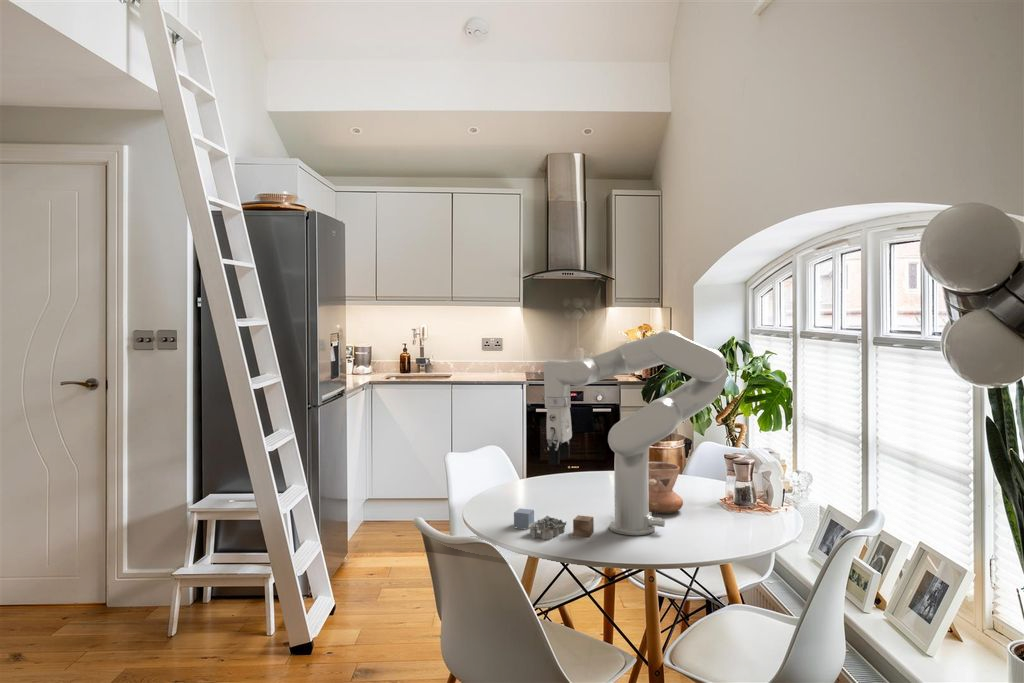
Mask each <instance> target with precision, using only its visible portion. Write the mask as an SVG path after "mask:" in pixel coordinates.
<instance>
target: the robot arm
mask: <svg viewBox="0 0 1024 683" xmlns="http://www.w3.org/2000/svg"><path fill="white" fill-rule="evenodd" d="M664 364H665V365H666V366H669V367H670V368H672V369H675V370H676V371H679V372H681V373H683V374H685V375H688V376H690V377H691V378H690V379H688V381H686V382H685V383H683V384H682V385H680V386H678V387H677V388H675V389H673V390H672V391H671V392H668V393H667V394H665V395H663V396H661V397H659V398H657V399H656V398H655V399H654V400H652V401H651V402H650V403H648V404H646V405H645V406H643V407H641V408H640V409H639V410H637V411H635V412H634V413H632V414H630V415H628V416H626V417H624V418H621V419H620V420H619V421H618V422H616V423H614V424H613V425H612V427H611V428H610V429H609V431H608V435H607V443H608V445H609V446H608V447H609V448H610V449H611V451H613V452H614V461H613V462H614V466H613V467H614V474H613V475H614V476H613V477H614V479H613V480H614V482H613V483H614V485H613V486H614V492H613V493H614V520H612V521H610V522H609V526H608V528H609V529H610V531H611V532H614V533H616V534H620V535H625V536H643V535H645V536H646V535H649V534H651V533H653V532H655V530H656V529H655V528H656V527H662V528H665V525H666V521H665V520H666V519H663V518H662V517H654V516H652V515H653V513H652V512H649V462H650V461H649V460H650V447H651V446H653V445H655V444H656V443H658V442H660V441H661V440H663V439H665V438H667V437H669V435H671V434H672V433H674V432H675V430H676V429H677V428H678V426H679V425H681V424H682V423H683V422H685V421H686V420H688V419H690V418H692V417H693V416H695V415H696V414H699V413H700V412H701V411H703V410H704V409H705V408H707V407H708V406H710V405H712V404H713V403H714V402H715V401H716V400H717V399H718V398H719V396H720V395H721V394H722V392H723V390H724V388H725V385H726V381H727V375H728V374H727V373H728V368H727V367H728V366H727V361H726V358H725V356H724V355H723V353H721V352H720V350H717V349H714V348H708V347H706V346H704V345H701V344H699V343H697V342H695V341H692V340H691V339H688V338H686V337H684V336H683V335H682V334H680V332H677V331H676V330H672V329H671V330H663V331H660V332H658V333H655V334H652V335H649V336H646V337H642V338H639V339H635V340H633V341H629V342H625V343H623V344H620V345H618V346H617V347H616V348H614V349H611V350H609V351H605V352H603V353H599V354H596V355H593V356H589V357H587V358H586V357H585V358H580V359H575V360H569V361H567V360H563V359H562V360H561V359H556V360H555V359H554V360H552V359H551V360H547V361H545V363H544V364H543V381H544V387H543V388H544V409H546V440H547V443H546V445H547V460H548V463H547V464H548V465H557V466H558V465H560V459H569V458H571V456H570V454H571V453H570V440H571V439H572V437H573V430H572V416H571V409H570V408H571V406H572V405H571V404H572V402H571V386H577V387H583V386H587V385H590V384H592V383H595V382H600V381H602V380H605V379H609V378H612V377H616V376H619V375H629V374H633V373H638V372H641V371H643V370H647V369H650V368H654V367H658V366H661V365H664Z"/></svg>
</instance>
